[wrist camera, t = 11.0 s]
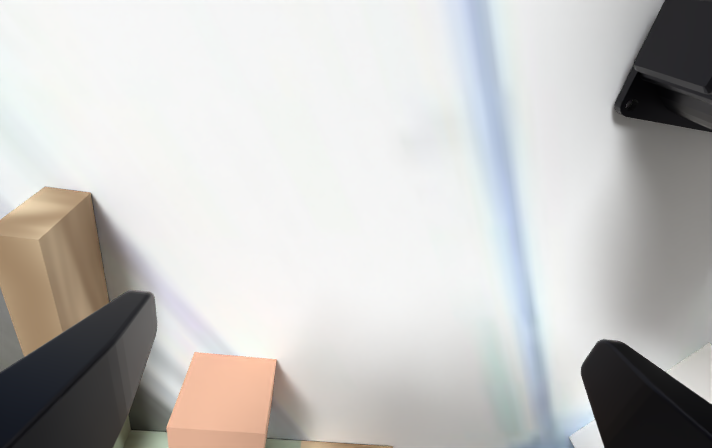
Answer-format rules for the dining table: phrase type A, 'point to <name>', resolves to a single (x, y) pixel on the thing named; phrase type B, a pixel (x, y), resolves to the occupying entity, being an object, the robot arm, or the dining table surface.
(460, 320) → the dining table surface
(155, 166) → the dining table surface
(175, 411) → the cube
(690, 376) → the milk
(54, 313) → the arena
